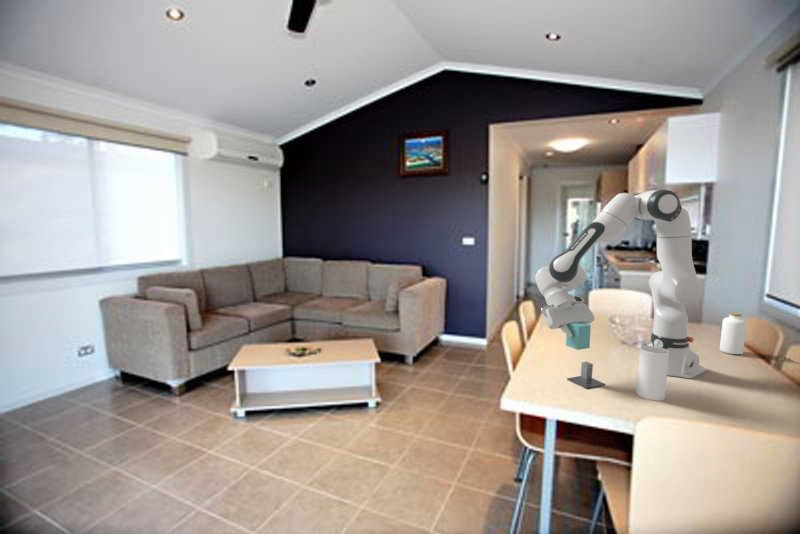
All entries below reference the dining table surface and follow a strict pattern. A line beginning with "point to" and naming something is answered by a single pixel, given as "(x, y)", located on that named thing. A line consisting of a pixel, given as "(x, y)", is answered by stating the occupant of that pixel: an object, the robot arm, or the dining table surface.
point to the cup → (652, 372)
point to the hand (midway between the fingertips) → (579, 335)
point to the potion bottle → (733, 334)
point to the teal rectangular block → (579, 336)
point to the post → (586, 377)
